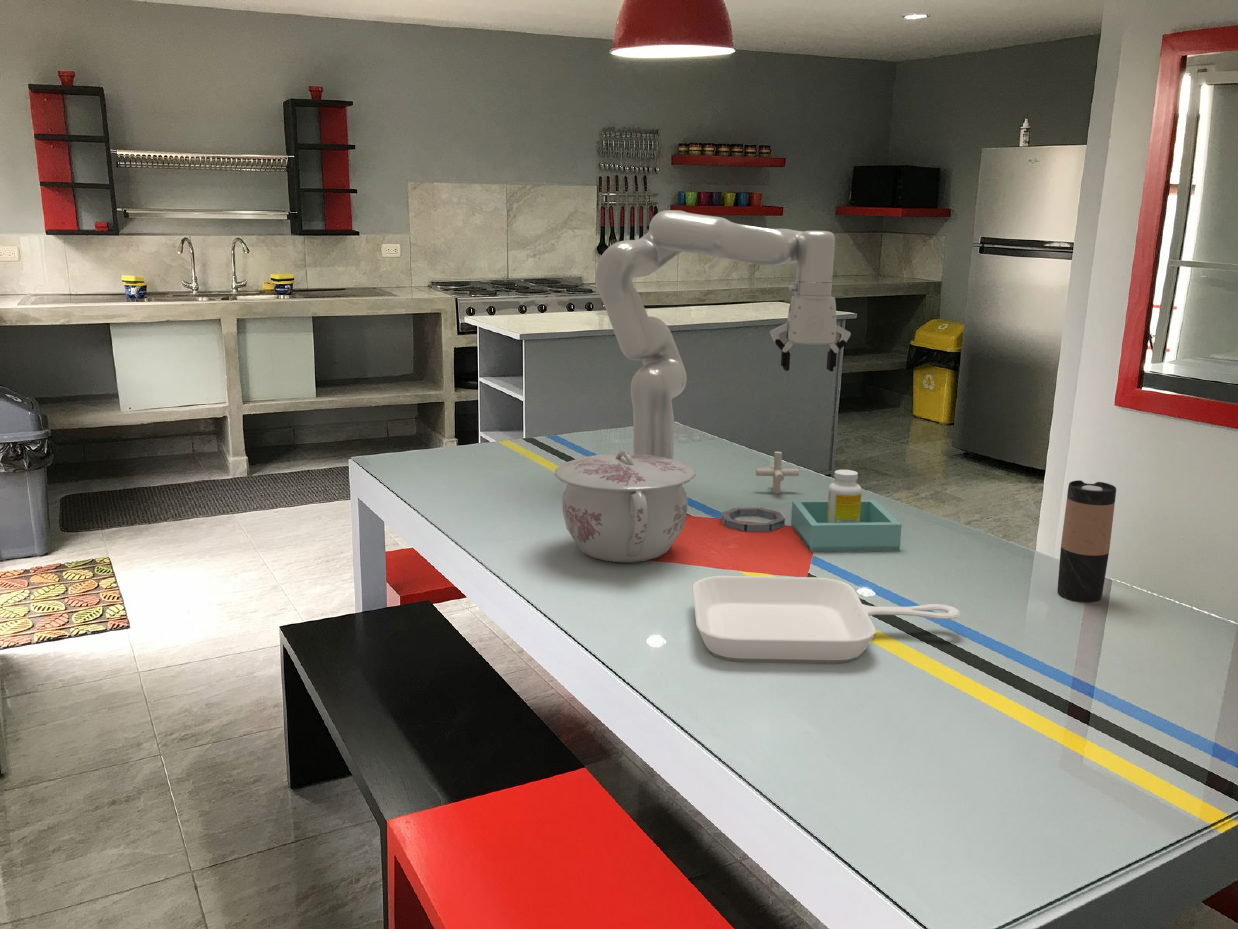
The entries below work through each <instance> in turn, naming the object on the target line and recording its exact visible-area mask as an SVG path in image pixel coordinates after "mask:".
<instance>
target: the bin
mask: <svg viewBox="0 0 1238 929" xmlns="http://www.w3.org/2000/svg"><path fill="white" fill-rule="evenodd" d="M827 511H828V499H811V500H810V499H808V500H807V499H805V500H804V499H803V500H802V499H800V500H791V516H790V518H791V520H790V526H791V527H792V528H793V530H794V531H795V533H796V534H797V535H798V536H799V538H800V540H801V541H802V542H803V544H804V545H805V547H806V548H807V549H808V551H809V552H810V553H823V552H824V553H828V552H829V553H832V552H833V553H836V552H839V553H840V552H900V549H901V540H902V538H901V537H902V526H903V525H902V523H901V522H900V521H899V520H897V519H896V518H895V517H894V516H893V515H892V514H891V513H890V512H889V511H888V510H887V509H886V508H885V507H884V506H882V505H881V504H880V503H879V502H878V501H877V500H876V499H861V508H860V523H827Z"/></svg>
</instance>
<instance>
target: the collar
mask: <svg viewBox="0 0 1238 929" xmlns="http://www.w3.org/2000/svg"><path fill="white" fill-rule="evenodd" d="M720 516H721V517H720V518H721V522H722V524H723V526H724V527H726V528H729V529H733V530H736V531H741V532H747V533H751V532H753V533H755V532H756V533H757V532H760V533H761V532H767V533H769V532H773V531H775V530H778V529H780V528H783V527H785V521H786V518H785V517H784V515H783V514H782V513H781V512H780V511H777V510H773V509H769V508H764V507H754V506H753V507H751V506H750V507H734V508H731V509H728V510H725V511H722V512H721V515H720ZM738 517H761V518H766V519H770V521H768V522H746V521H742V520H737V519H734V518H738Z"/></svg>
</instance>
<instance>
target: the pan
mask: <svg viewBox="0 0 1238 929" xmlns="http://www.w3.org/2000/svg"><path fill="white" fill-rule="evenodd" d="M692 597H693V607H694V614H695V624H696V627H697V629H698V632H699V634H700V636H701V638H702V641H703V643H704V645H705V646H706V648H707V650H708V652H709V653H710V654H711V655H712V656H714V657H716V658H718V659H722V660H726V661H729V662H739V663H740V662H741V663H744V662H746V663H784V664H785V663H786V664H787V663H790V664H791V663H792V664H795V663H796V664H804V663H805V664H845V663H849V662H853V661H856V660H858V658H860V657H861V656H862V654H863V653H864V651H865V650H866V648H868V646H869V644H870V642H871V641H872V639H874V638H875V637H874V636H875V635H876V628H875V625H874V623H873V622H872V620H871V617H870V616H877V615H878V616H885V615H886V616H911V617H912V616H913V617H920V618H927V619H932V620H933V619H934V620H953V619H957V618H958V617H959V616H961V611H960V610H959V609H957V608H956V607H954V606H951V605H947V604H943V603H942V604H939V603H932V604H931V603H929V604H928V603H927V604H921V605H914V606H874V605H873V606H872V605H867V604H863V603H862V601H861V599H860V598H859V596H858V594H857V592H856V590H855V588H853V586H851V585H850V584H849V583H847V582H844V581H841V580H837V579H832V578H827V577H816V576H815V577H814V576H813V577H811V576H810V577H808V576H807V577H805V576H751V575H749V576H748V575H747V576H744V575H743V576H742V575H741V576H740V575H717V576H715V575H714V576H708V577H704V578H700V579H699V580H696V581H695V582H694V583H693V585H692ZM932 611H944V612H945V613H943V612H932Z"/></svg>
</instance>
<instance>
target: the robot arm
mask: <svg viewBox="0 0 1238 929" xmlns="http://www.w3.org/2000/svg"><path fill="white" fill-rule="evenodd" d="M648 227H649V228H648V232H647V233H645V234H643V236H641V237H640V238H638V239H628V240H621V241H617V242H614V243H613V244H611V245H609V247H608V248H607V249H606V250H604V251H603V253H602V255H601V256H600V258H599V259H598V263H597V265H596V269H595V283H596V286H597V287H596V288H597V290H598V293H599V296H600V298H601V301H602V304H603V306H604V308H605V310H606V314H607V316H608V320H609V322H610V324H611V326H612V330H613V333H614V335H615V338H616V341H617V343H618V345H619V346H618V347H619V349H620V350H621V352H622V354H623V355H624V356H625V357H626V359H629V360H631V361H642V362H641V363H642V365H643V366H642V367H640V368H639V369H637V371H636V372H635V373H634V375H633V376H632V379H631V383H630V397H631V404H632V420H633V421H632V422H633V425H632V426H633V430H632V431H633V449H632V450H633V453H632V454H644V455H653V456H659V457H666V458H669V459H673V460H675V458H674V454H675V452H674V449H675V448H674V446H675V416H674V409H673V402H672V401H673V400H672V399H674V398H676V397H678V396H679V395H681V393H683V391H684V390H685V388H686V385H687V380H688V378H687V377H688V376H687V371H686V368H685V366H684V363H683V360H682V357H681V355H680V354H681V353H680V352H679V349H678V347H677V344H676V341H675V339H674V336H673V334H672V332H671V330H670V328H669V326H668V325H667V324H666V323H665V322H664V321H663V320H662V319H660V318H658V317H655V316H650V315H648V313H647V311H646V309H645V306H644V303H643V300H642V298H641V296H640V293H639V292H638V291H637V289H636V287H635V286H634V283H633V279H634V278H635V279H636V278H642V277H647V276H649V275H651V274H653V273H655V272H656V271H658V270H659V269H661V268H662V267H663V266H664V265H666V264H667V263H668V262H670V261H672V260H673V259H674V258H676V257H677V256H678V255H679V254H681V253H689V254H690V253H691V254H695V255H696V254H697V255H700V256H701V255H702V256H708V257H714V258H718V259H726V260H727V259H728V260H733V261H738V262H744V263H749V264H756V265H762V266H771V267H775V266H782V265H789V264H796V276H795V281H794V283H792V284H790V283H789V285H788V291H789V292H793V293H794V295H792V296H791V301H790V303H789V307H788V313H787V314H788V315H787V319H786V322H785V323H783V324H781V325H779V326H777V327H776V328H773V329H771V330H770V331H769V334H770V335H771V337H772V340H773V342H774V344H775V345H776V346H777V347H778V349H779V350H780V351H781V353H780V354H781V356H780V366H781V367H782V369H783V371H785V372H787V371H788V372H789V371H790V364H791V362H790V360H791V353H790V349H791V348H792V347H793V346H794V345H808V346H809V345H814V346H816V345H822V346H823V345H826V346H827V347H828V348H829V351H827V357H826V370H828V371H829V372H834V368H836V367H837V358H838V357H837V354H838V353H839V352H840V350H841V349H843V347H845V345H846V343H847V342H848V340H849V339H850V337H851V335H852V334H851V331H848V330H847V329H845V328H843V327H841V326H840V325H838V324H837V304H836V297H833V296H832V290H833V289H832V286H833V272H834V262H835V261H834V260H835V248H836V246H835V244H836V237H835V235H834V234H835V233H833V232H831V231H827V230H805V231H800V230H795V229H791V228H767V227H759V226H752V225H748V224H747V225H746V224H741V223H735V222H732V221H730V220H729V219H726V218H724V217H720V216H713V215H706V214H698V213H692V212H687V211H684V210H675V209H674V210H669V209H668V210H667V209H666V210H662V211H660V212H658V213H656V214H655V215H654V216H653V217H652V218H651V220H650V223H649V226H648ZM784 332H785V338H786V340H784V342H783V341H782V340H781V339H780V336H779V335H780V334H781V333H784ZM837 333H838V334H840V335H841V337H840V339H839V340H837V339H836V338H837ZM836 340H837V342H836ZM835 342H836V343H835Z"/></svg>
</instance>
